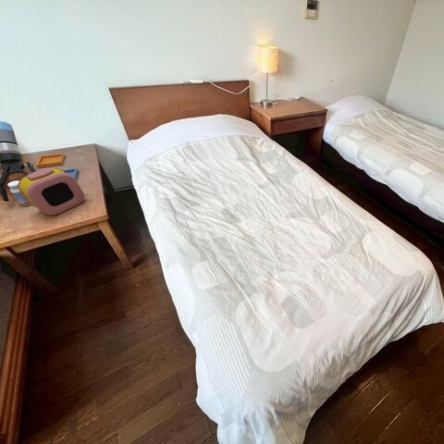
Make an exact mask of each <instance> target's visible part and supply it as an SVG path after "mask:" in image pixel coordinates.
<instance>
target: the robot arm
mask: <svg viewBox="0 0 444 444" xmlns="http://www.w3.org/2000/svg"><path fill="white" fill-rule="evenodd" d="M17 141H18V140H17V137H16V134H15V130H14V127H13V125H12V124H11V123H9V122H6V121H2V120H0V172H1V174H0V196H1V198H2V201H3V202H10V198H9V195H8V191H7V189H6V187H4V186H5V184H6V183H7V181H8V179H9V177H10V176H11V175H15V174H22V175H24V177H25V176H27V175H29V174H30V173H29V172H28V171H26V170H25V167H26V168H27V169H28V170H29V171H30V172H31V173H33V172H36V171H37V170H36V168H34V164H33V163H31V162H29V161H27V162H25V163H24V161H23V158H22V155H21V152H20V148H19V145H18V142H17Z"/></svg>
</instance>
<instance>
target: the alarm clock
mask: <svg viewBox="0 0 444 444" xmlns="http://www.w3.org/2000/svg"><path fill="white" fill-rule="evenodd" d="M63 170H64V169H61V168H59V167H44V168H41V169H38V170H36V172H33V173H32V172H31V173H29V175H27V176H25V175H24V176H23V177H21V179H20V180H18V181H19V182H18V188H19V191H20V192H21V193H22V195H23V196H24V197H25V198H26V199H27V200H28V202H29V203H30V205H31V206H32V207H34V208H36V209H38V210H39V211H40V212H41V213H42V214H45V215H49V216H55V215H59V214H61V213H64V212H66V211H68V210H70V209H72V208H74V207H76V206H78V205H79V204H81V203H82V202H83V200H84V199H85V193H84V190H83V189H82V188H81V185H80V184H79V183H78V181H77V179H76V180H75V178H74V177H73V176H72V175H69V174H67V173H65V172H64V171H63Z"/></svg>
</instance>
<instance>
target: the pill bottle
mask: <svg viewBox="0 0 444 444" xmlns="http://www.w3.org/2000/svg"><path fill="white" fill-rule="evenodd" d="M19 181H20V180H13V181H10V182H9V183H7V187H8V188H9V192H10V193H11V194H12V195H13V197H14V198H15V199H16V200H17V202H19V203H20V205H22V206H30V205H31V204H30V203H29V202H28V200H27V199H26V198H25V197H24V196H23V195H22V193H21V192H20V191H19V188H18V182H19Z"/></svg>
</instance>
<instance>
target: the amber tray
mask: <svg viewBox="0 0 444 444" xmlns="http://www.w3.org/2000/svg"><path fill="white" fill-rule="evenodd" d="M65 158H66V155H65V153H63V152H61V153H55V154H54V153H53V154H45V155H40V156H39V157H38V160H37V162H36V164H35V166H36V167H37V168H38V169H44V168H52V167H58V166H63V164H64V161H65Z"/></svg>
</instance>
